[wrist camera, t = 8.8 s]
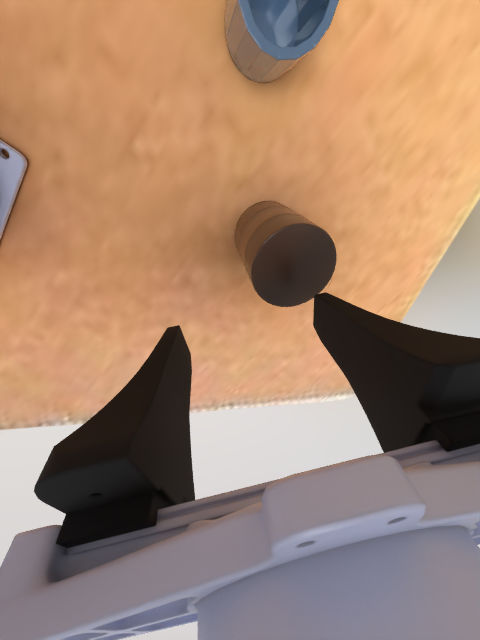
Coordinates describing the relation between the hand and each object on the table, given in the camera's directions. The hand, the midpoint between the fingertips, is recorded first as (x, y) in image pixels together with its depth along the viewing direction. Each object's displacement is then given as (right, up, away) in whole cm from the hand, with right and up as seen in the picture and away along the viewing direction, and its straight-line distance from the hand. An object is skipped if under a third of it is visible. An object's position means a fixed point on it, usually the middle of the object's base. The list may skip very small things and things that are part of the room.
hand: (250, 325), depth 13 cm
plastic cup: (+1, +16, +1) cm, 16 cm away
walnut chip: (+2, +5, +3) cm, 6 cm away
